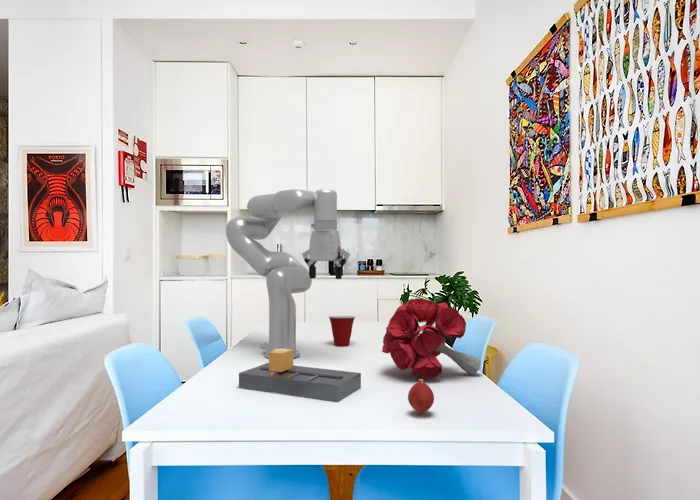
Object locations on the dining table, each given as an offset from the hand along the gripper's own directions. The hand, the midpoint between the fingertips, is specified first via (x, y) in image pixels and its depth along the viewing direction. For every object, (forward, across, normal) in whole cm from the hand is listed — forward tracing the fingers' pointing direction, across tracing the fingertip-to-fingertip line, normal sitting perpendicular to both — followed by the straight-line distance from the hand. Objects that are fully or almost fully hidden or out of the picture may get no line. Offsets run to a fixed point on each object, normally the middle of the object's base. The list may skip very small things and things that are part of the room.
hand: (325, 278), depth 159 cm
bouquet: (+28, +36, 0) cm, 46 cm away
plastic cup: (+28, -10, +33) cm, 45 cm away
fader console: (+28, +7, -28) cm, 40 cm away
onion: (+28, +43, -35) cm, 62 cm away
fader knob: (+24, +1, -28) cm, 37 cm away
